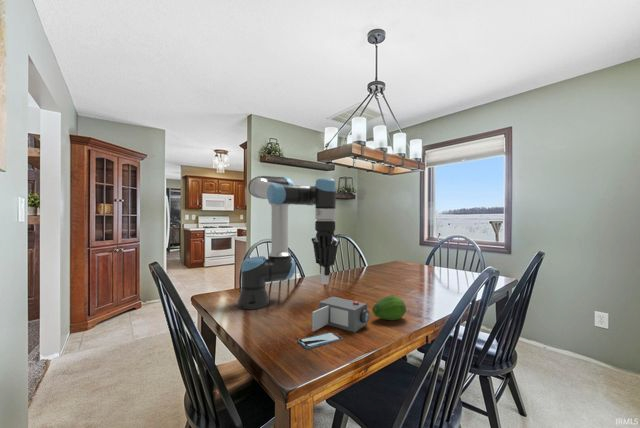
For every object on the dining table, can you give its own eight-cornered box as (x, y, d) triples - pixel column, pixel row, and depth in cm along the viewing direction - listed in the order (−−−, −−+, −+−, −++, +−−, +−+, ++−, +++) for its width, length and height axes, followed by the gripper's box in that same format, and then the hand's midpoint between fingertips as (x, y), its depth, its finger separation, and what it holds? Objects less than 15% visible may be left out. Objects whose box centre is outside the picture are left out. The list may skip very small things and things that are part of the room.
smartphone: (343, 338, 101) (307, 347, 93) (343, 341, 101) (307, 350, 93) (332, 331, 107) (297, 339, 99) (332, 333, 107) (296, 342, 99)
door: (325, 322, 115) (325, 304, 115) (329, 323, 114) (329, 305, 114) (310, 330, 107) (310, 311, 107) (314, 331, 106) (314, 312, 106)
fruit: (378, 326, 113) (378, 301, 114) (367, 317, 123) (367, 294, 123) (411, 322, 118) (411, 298, 118) (398, 314, 127) (398, 292, 127)
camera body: (319, 322, 117) (319, 300, 117) (332, 315, 125) (332, 294, 125) (359, 333, 106) (359, 309, 106) (371, 325, 114) (371, 302, 114)
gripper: (306, 220, 107) (305, 281, 107) (330, 221, 97) (330, 289, 97) (320, 219, 112) (320, 278, 112) (345, 220, 102) (344, 285, 103)
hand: (324, 283), depth 105 cm, fingers closed
